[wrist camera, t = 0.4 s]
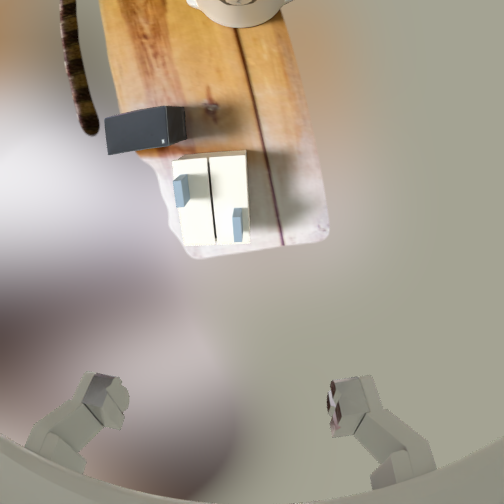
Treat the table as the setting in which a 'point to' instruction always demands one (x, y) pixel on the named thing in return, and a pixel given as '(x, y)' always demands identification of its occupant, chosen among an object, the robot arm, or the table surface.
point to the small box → (145, 129)
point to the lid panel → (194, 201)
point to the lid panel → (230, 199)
